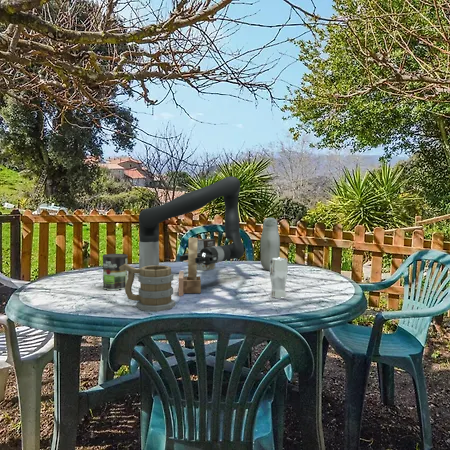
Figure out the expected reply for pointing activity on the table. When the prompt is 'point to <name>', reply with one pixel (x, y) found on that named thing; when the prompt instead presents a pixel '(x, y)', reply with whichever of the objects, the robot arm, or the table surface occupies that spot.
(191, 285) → the cradle
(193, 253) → the dowel
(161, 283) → the tankard
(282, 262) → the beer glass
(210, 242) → the coffee box
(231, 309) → the table surface
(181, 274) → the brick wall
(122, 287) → the coffee can
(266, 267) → the grey water bottle
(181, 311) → the table surface
